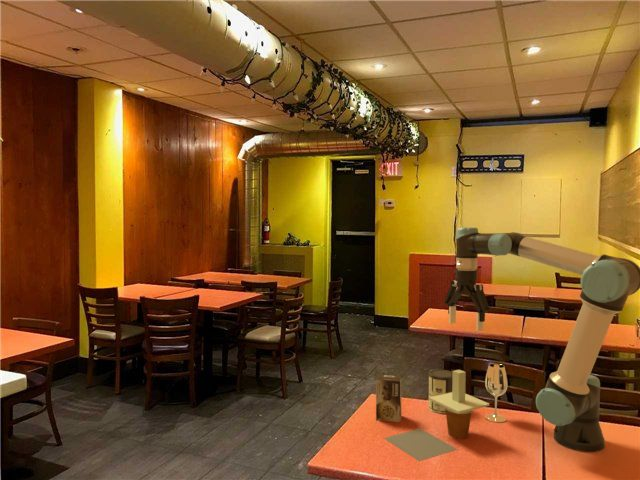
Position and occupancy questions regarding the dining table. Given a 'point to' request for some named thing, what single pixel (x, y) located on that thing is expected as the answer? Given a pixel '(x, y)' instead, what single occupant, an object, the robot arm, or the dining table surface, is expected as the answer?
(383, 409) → the coffee box
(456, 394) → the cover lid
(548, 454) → the dining table surface
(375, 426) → the dining table surface
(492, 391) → the wineglass
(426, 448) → the rubber mat
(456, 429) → the disposable coffee cup
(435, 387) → the coffee can
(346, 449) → the dining table surface
